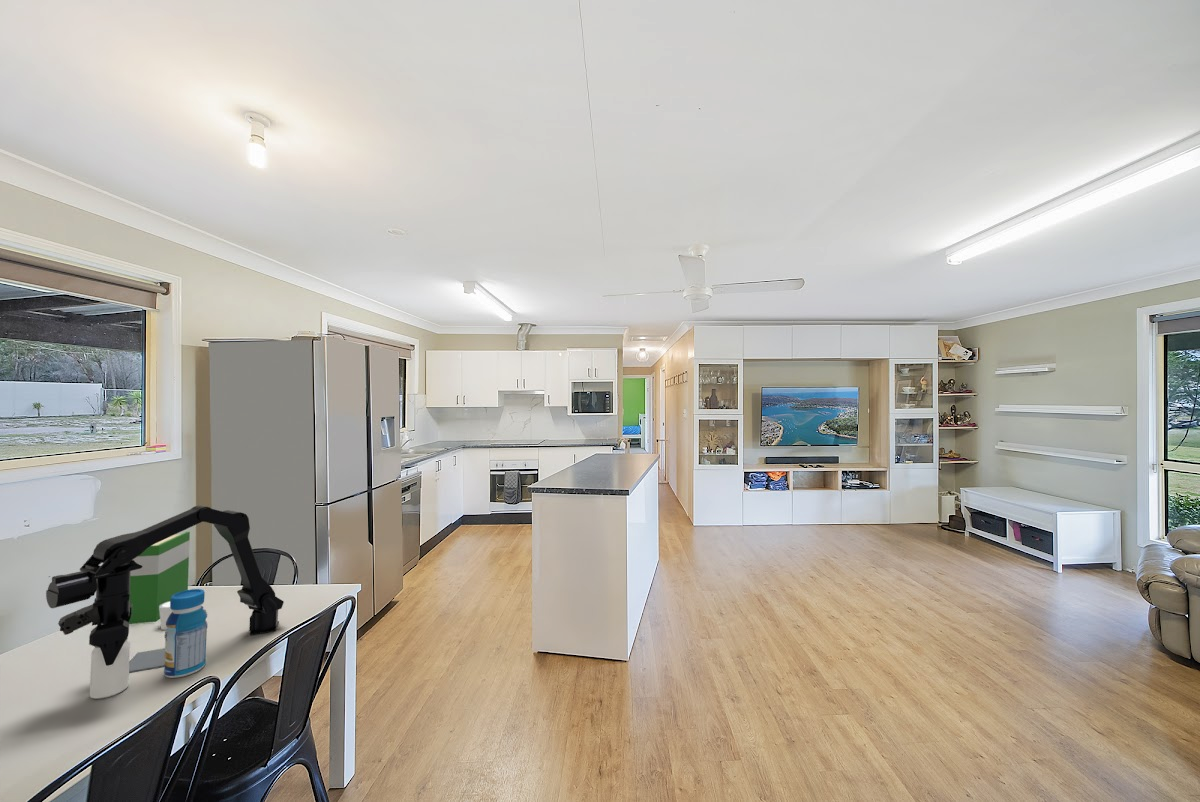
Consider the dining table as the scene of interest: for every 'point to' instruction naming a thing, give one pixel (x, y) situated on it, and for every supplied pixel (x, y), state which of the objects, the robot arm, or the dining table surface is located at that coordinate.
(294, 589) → the dining table surface
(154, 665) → the slate mat
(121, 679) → the can
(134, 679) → the dining table surface
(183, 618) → the beverage bottle
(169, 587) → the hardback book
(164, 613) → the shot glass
